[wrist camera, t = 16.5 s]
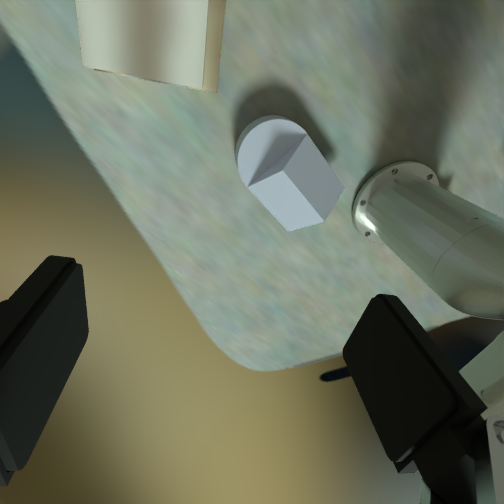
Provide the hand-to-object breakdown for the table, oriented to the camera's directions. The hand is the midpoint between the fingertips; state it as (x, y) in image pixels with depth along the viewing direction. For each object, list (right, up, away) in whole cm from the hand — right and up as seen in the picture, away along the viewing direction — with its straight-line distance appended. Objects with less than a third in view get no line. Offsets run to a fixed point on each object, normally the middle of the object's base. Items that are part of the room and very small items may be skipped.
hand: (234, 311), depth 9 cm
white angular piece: (+4, +13, +27) cm, 31 cm away
